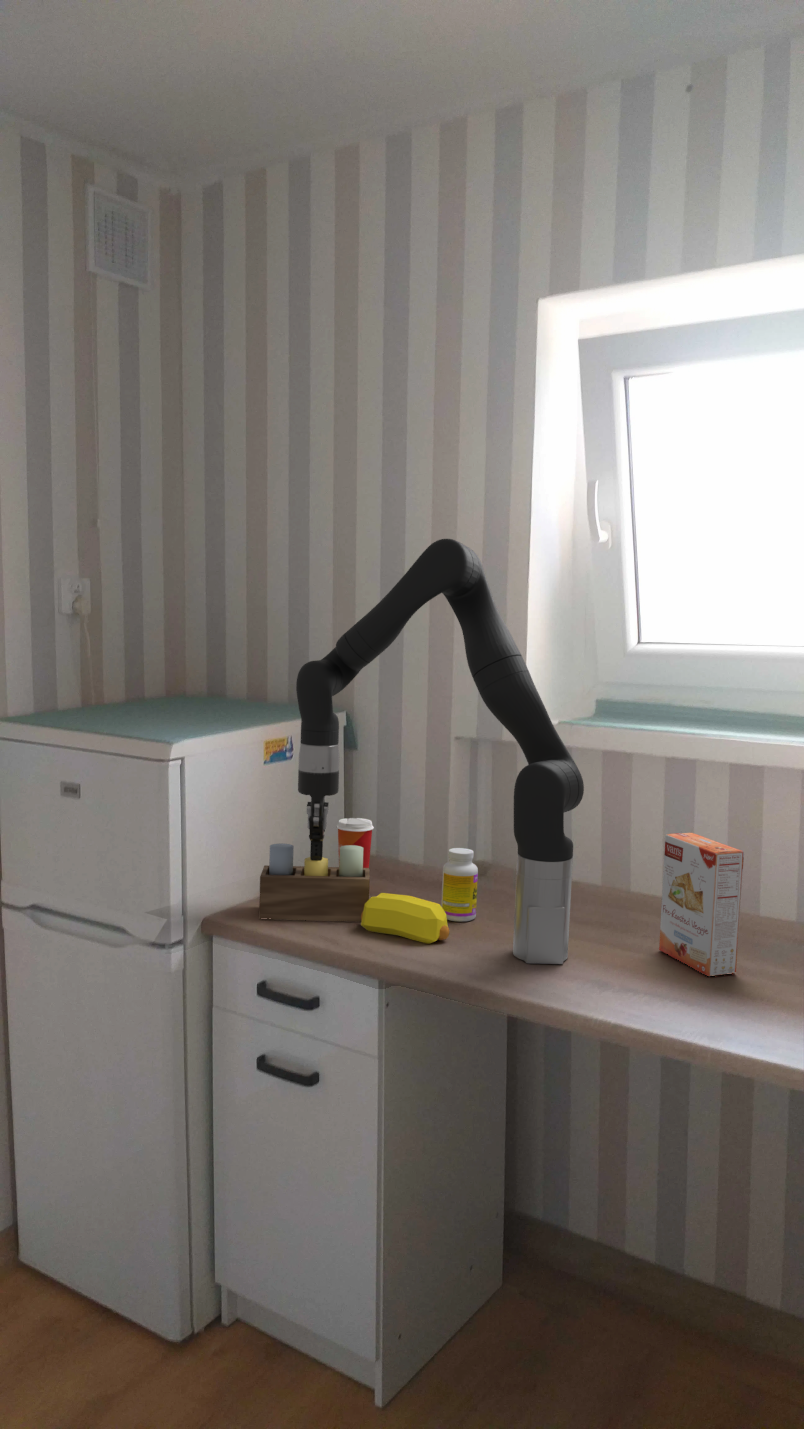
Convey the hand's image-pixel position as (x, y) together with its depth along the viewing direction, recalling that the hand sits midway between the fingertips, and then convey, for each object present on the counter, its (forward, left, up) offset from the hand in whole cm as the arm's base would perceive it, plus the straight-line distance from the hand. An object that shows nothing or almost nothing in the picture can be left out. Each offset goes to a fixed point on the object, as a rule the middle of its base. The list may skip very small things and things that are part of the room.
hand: (316, 859), depth 196 cm
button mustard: (0, 0, -6) cm, 6 cm away
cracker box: (-23, -65, -11) cm, 70 cm away
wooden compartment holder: (0, 0, -10) cm, 10 cm away
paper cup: (+19, -7, -11) cm, 23 cm away
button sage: (0, -7, -4) cm, 7 cm away
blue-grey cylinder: (0, +7, -4) cm, 7 cm away
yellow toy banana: (-11, -16, -11) cm, 22 cm away
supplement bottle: (0, -27, -11) cm, 29 cm away
